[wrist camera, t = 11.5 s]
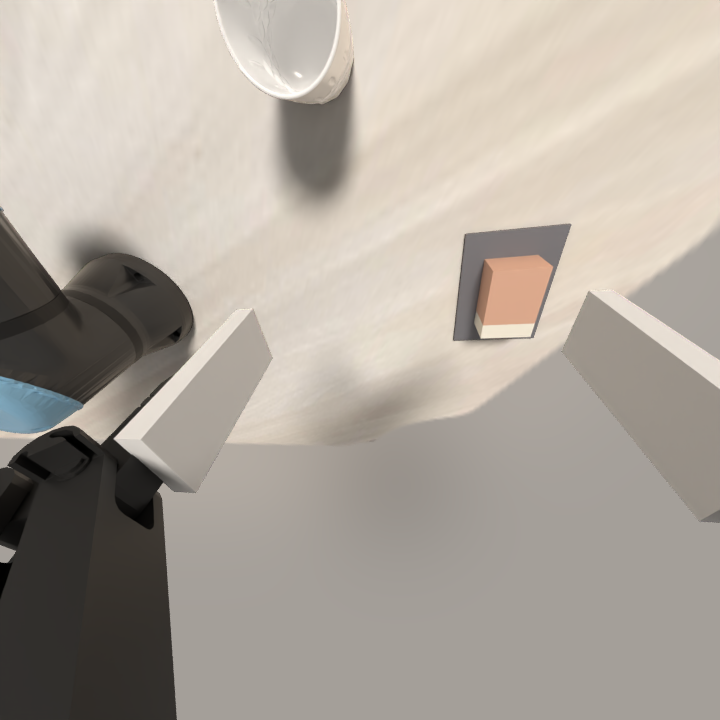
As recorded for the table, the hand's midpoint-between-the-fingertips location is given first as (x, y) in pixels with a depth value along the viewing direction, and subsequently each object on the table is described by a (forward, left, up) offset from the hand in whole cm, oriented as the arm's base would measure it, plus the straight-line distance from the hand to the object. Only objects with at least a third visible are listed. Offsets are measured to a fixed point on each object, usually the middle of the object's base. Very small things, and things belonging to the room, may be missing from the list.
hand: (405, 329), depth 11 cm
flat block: (+13, -11, -25) cm, 30 cm away
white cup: (-7, +13, -26) cm, 30 cm away
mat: (+13, -11, -25) cm, 30 cm away
